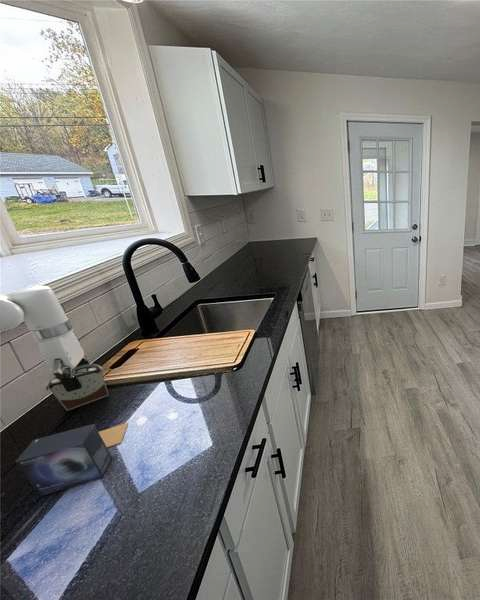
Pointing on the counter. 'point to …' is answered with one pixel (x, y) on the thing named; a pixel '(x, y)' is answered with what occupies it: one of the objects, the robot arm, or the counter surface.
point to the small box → (65, 459)
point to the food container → (89, 391)
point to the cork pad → (113, 435)
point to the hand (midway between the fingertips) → (80, 380)
